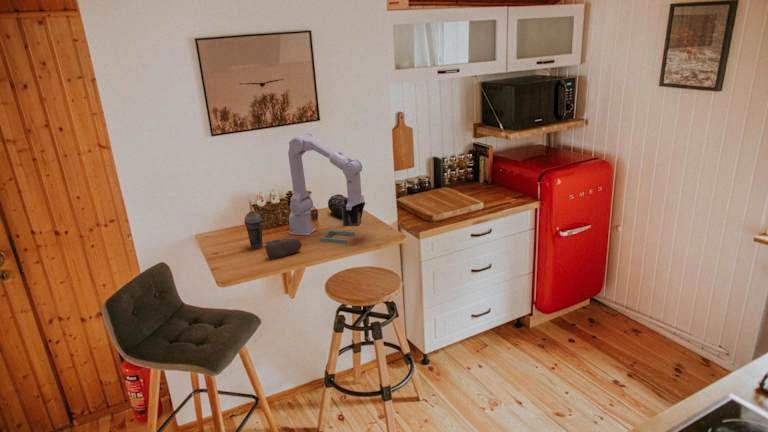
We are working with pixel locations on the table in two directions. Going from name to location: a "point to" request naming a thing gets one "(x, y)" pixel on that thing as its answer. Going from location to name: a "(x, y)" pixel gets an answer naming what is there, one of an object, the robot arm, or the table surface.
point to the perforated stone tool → (282, 247)
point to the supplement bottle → (345, 212)
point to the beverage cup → (254, 228)
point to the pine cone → (336, 205)
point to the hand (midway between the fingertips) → (356, 221)
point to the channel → (331, 233)
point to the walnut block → (357, 220)
